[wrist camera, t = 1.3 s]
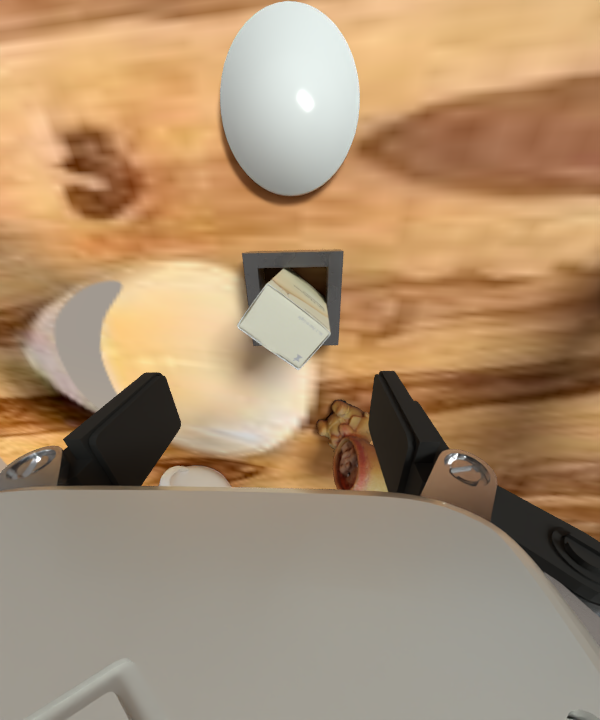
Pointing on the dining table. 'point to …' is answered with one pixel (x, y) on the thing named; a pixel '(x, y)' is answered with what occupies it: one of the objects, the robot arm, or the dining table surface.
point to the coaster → (289, 98)
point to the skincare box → (288, 318)
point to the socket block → (299, 258)
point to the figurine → (352, 449)
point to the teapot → (193, 477)
